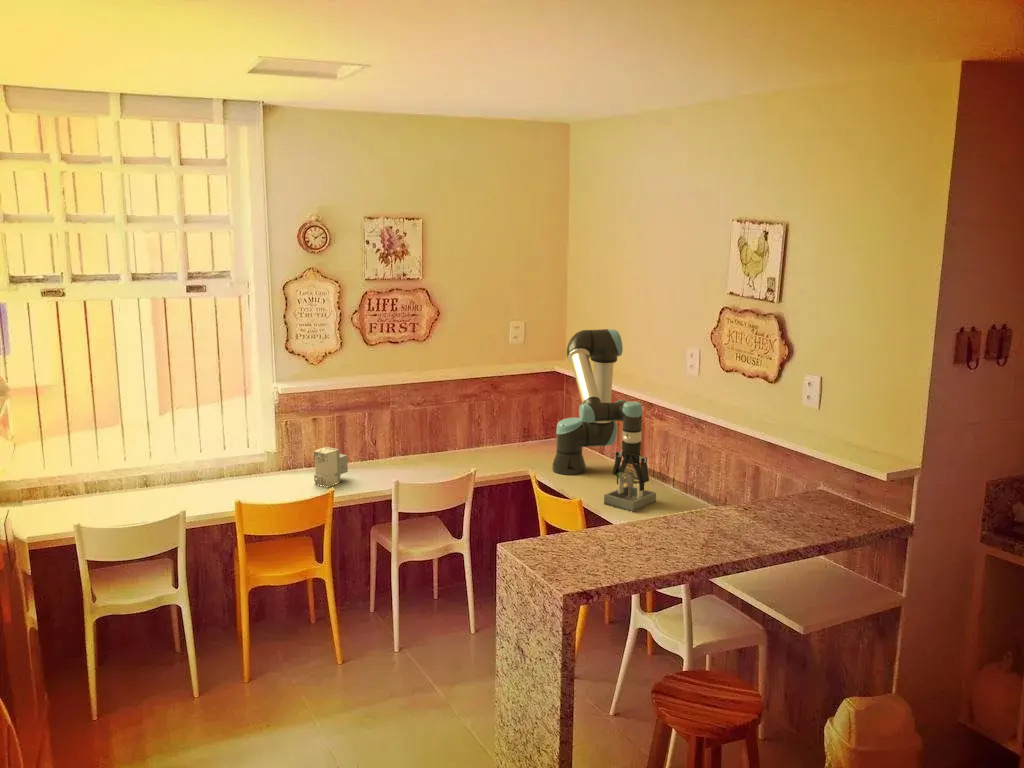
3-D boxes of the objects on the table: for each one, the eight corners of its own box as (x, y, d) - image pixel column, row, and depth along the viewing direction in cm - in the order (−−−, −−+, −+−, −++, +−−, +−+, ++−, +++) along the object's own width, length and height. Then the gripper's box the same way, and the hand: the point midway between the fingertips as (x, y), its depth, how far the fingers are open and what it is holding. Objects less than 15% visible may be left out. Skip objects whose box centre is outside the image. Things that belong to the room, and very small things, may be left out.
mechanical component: (642, 499, 354) (643, 475, 352) (616, 497, 356) (617, 473, 354) (643, 496, 357) (643, 473, 355) (617, 495, 359) (617, 471, 357)
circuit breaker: (350, 479, 388) (349, 446, 385) (326, 487, 377) (325, 453, 374) (338, 476, 393) (337, 443, 390) (314, 484, 381) (312, 450, 378)
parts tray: (627, 494, 368) (627, 485, 367) (655, 502, 358) (656, 492, 358) (604, 504, 356) (604, 494, 355) (632, 512, 347) (633, 502, 346)
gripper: (604, 437, 356) (603, 491, 361) (648, 447, 342) (647, 503, 347) (615, 434, 362) (614, 487, 366) (659, 443, 348) (657, 499, 352)
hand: (630, 495), depth 357 cm, fingers closed on mechanical component, 8 cm apart
